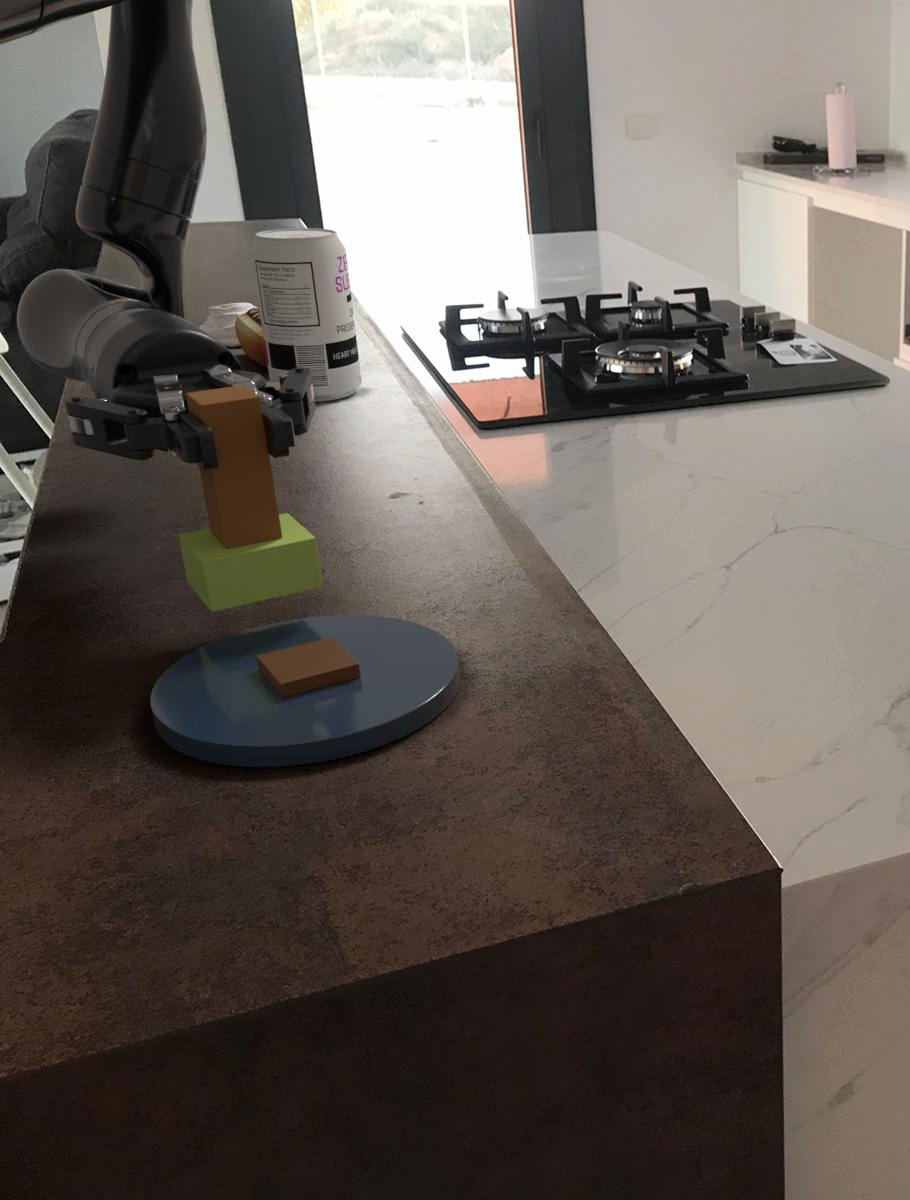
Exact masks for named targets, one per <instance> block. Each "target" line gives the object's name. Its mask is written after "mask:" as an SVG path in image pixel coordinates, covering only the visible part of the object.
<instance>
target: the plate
mask: <svg viewBox="0 0 910 1200" xmlns="http://www.w3.org/2000/svg"><path fill="white" fill-rule="evenodd" d="M331 637H333V638H334V639H335V640H336V641H337V642H338V643H339V644H340V645H341V646H342V647H343V648H344V649H345V650H346V651H347V652H348V653H349V654H350V655H351V656H352V657H353V658H354V659H355V660H356V661H357V662H358V663H359V668H360V675H361V676H360V677H358V678H355V679H351V680H347V681H343V682H340V683H336V684H332V685H328V686H325V687H321V688H317V689H314V690H310V691H306V692H302V693H299V694H295V695H291V696H287V697H284V698H282V697H281V695H280V694H279V693H278V692H277V691H276V689H275V688H274V687H273V686H272V685H271V683H270V682H269V681H268V680H267V679H266V677H265V676H264V675H263V674H262V673H261V671H260V670H259V669H258V664H257V658H256V656H258V655H262V654H266V653H270V652H274V651H278V650H282V649H286V648H290V647H294V646H298V645H303V644H307V643H311V642H315V641H319V640H323V639H327V638H331ZM460 680H461V675H460V665H459V657H458V653H457V651H456V649H455V647H454V645H453V644H452V643H451V642H450V641H449V639H447V637H445V636H444V635H442V634H441V633H439V632H438V631H436V630H434V629H432V628H429V627H428V626H425V625H422V624H419V623H416V622H414V621H410V620H409V621H408V620H405V619H401V618H394V617H389V616H380V615H368V614H366V615H365V614H335V615H334V614H333V615H320V616H309V617H300V618H294V619H289V620H283V621H278V622H273V623H268V624H264V625H260V626H256V627H253V628H247V629H245V630H242V631H240V632H239V631H238V632H236V633H233V634H230V635H227V636H224V637H222V638H219V639H217V640H214V641H212V642H210V643H208V644H205V645H203V646H201V647H199V648H197V649H195V650H193V651H192V652H190V653H188V654H186V655H185V656H183V657H182V658H180V659H179V660H177V661H176V662H174V663H173V664H172V665H170V667H168V668H167V669H166V670H165V671H164V672H163V673H162V674H161V676H159V678H158V679H157V680H156V682H155V684H154V685H153V688H152V690H151V694H150V697H149V698H150V699H149V700H150V701H149V702H150V711H151V715H152V719H153V724H154V725H153V726H154V727H155V730H156V732H157V735H158V736H159V737H160V738H161V739H162V741H163V742H164V743H165V744H166V745H168V746H169V747H171V749H173V750H175V751H176V752H179V753H180V754H183V755H185V756H187V757H190V758H193V759H196V760H200V761H201V762H207V763H212V764H217V765H222V766H223V765H224V766H232V767H243V768H280V767H281V768H282V767H294V766H303V765H309V764H317V763H324V762H328V761H333V760H338V759H343V758H347V757H351V756H355V755H358V754H363V753H365V752H368V751H371V750H374V749H377V748H381V747H384V746H386V745H389V744H391V743H393V742H395V741H397V740H400V739H403V738H404V737H406V736H408V735H410V734H412V733H414V732H416V731H418V730H419V729H421V728H423V727H424V726H426V725H428V724H429V723H430V722H432V721H433V720H434V719H436V718H437V717H439V715H441V714H442V713H443V712H444V711H445V710H446V709H447V707H448V706H450V704H451V703H452V701H454V698H455V697H456V695H457V693H458V690H459V688H460Z"/></svg>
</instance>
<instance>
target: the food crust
mask: <svg viewBox="0 0 910 1200" xmlns="http://www.w3.org/2000/svg"><path fill="white" fill-rule="evenodd" d="M256 658H257V664H258V669H259V670H260V671H261V673H262V674H263V675H264V676H265V677H266V679H267V680H268V681H269V682H270V683H271V685H272V686H273V687H274V688H275V689H276V691H277V692H278V693H279V694H280V695H281V697H282V698H284V697H287V696H291V695H295V694H299V693H302V692H306V691H310V690H314V689H317V688H321V687H325V686H328V685H332V684H336V683H340V682H343V681H347V680H351V679H355V678H358V677H360V676H361V675H360V668H359V663H358V662H357V661H356V660H355V659H354V658H353V657H352V656H351V655H350V654H349V653H348V652H347V651H346V650H345V649H344V648H343V647H342V646H341V645H340V644H339V643H338V642H337V641H336V640H335V639H334V638H333V637H331V638H327V639H323V640H319V641H315V642H311V643H307V644H303V645H298V646H294V647H290V648H286V649H282V650H278V651H274V652H270V653H266V654H262V655H258V656H256Z"/></svg>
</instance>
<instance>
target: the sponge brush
mask: <svg viewBox="0 0 910 1200" xmlns="http://www.w3.org/2000/svg"><path fill="white" fill-rule="evenodd" d="M186 399H187V404H188V410H189V413H193V414H194V415H195V416H196V417H198V418H199V419H200V420H201V421H202V422H205V423H206V424H207V425H208V426H209V427H210V428H211V430H212V433H213V437H214V443H215V449H216V454H217V460H218V468H213V469H207V470H202V469H201V468H200V467H199V466H198V469H199V474H200V475H199V476H200V479H201V486H202V491H203V496H204V501H205V507H206V512H207V518H208V523H209V527H207V528H203V529H198V530H193V531H192V530H191V531H187V532H182V533H178V534H177V535H178V541H179V546H180V551H181V556H182V557H181V558H182V561H183V562H182V563H183V566H184V567H183V568H184V572H185V576H186V582H187V584H188V585H189V586H190V587H191V589H192V590H193V591H194V592H195V594H196V595H197V596H198V597H199V599H200V600H201V601H202V602H203V603H204V604H205V606H206V608H207V609H209V611H210V612H211V613H216V612H220V611H224V610H228V609H232V608H237V607H241V606H246V605H250V604H255V603H259V602H264V601H268V600H272V599H276V598H280V597H281V598H282V597H284V596H289V595H293V594H298V593H302V592H306V591H310V590H316V589H319V588H323V586H324V584H323V576H322V570H321V569H322V568H321V563H320V557H319V549H318V544H317V543H318V542H317V538H316V537H315V536H314V535H313V534H312V533H311V532H310V531H308V530H307V529H306V528H305V527H304V525H301V523H299V522H298V521H297V520H296V519H295V518H294V517H293V516H292V515H290V514H289V513H288V512H285V513H280V514H279V507H278V501H277V500H278V499H277V495H276V494H277V493H276V489H275V481H274V475H273V469H272V464H271V463H272V462H271V458H270V456H271V455H270V454H269V453H268V447H267V440H266V434H265V428H264V422H263V415H262V406H261V400H260V397H259V396H258V395H256V394H255V393H254V392H252V391H251V390H249V389H248V388H246V387H245V386H244V385H241V386H234V387H226V388H219V389H212V390H204V391H197V392H190V393H186Z"/></svg>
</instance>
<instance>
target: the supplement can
mask: <svg viewBox="0 0 910 1200" xmlns="http://www.w3.org/2000/svg"><path fill="white" fill-rule="evenodd" d="M337 234H338V233H337V231H336V230H333V229H328V228H316V227H315V228H311V227H307V228H306V227H299V228H297V227H296V228H280V229H279V228H278V229H270V230H269V229H268V230H263V231H259V232H256V233H255V239H254V242H253V244H252V247H251V250H250V259H251V265H252V271H253V278H254V285H255V290H256V297H257V303H258V304H257V305H258V309H259V311H260V318H261V324H262V331H263V338H264V344H265V351H266V358H267V364H268V369H267V370H268V376H269V382H280V380H279V376H280V375H282V374H288V372H289V370H292V369H295V368H297V367H303V368H307V369H310V372H311V379H312V385H313V392H314V400H315V403H316V402H317V403H318V402H319V403H320V402H328V401H329V402H330V401H336V400H339V399H344V398H347V397H350V396H352V395H354V394H355V393H356V392H357V389H358V388H360V387H361V385H362V383H363V382H362V380H363V379H362V374H361V372H362V371H361V366H360V364H361V363H360V356H359V349H358V341H357V332H356V324H355V315H354V309H353V308H354V307H353V300H352V291H351V283H350V275H349V266H348V257H347V249H346V247H345V246H344V244H343V242H342V241H341V240H340V238H339V236H338V235H337Z"/></svg>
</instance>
